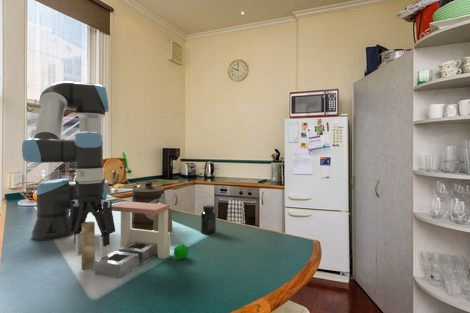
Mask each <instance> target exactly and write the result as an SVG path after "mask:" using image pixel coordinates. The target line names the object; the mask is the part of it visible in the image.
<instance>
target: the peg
mask: <svg viewBox="0 0 470 313" xmlns="http://www.w3.org/2000/svg"><path fill="white" fill-rule="evenodd" d="M95 223H96V222H95V221H85V222H83V223H82V232H81V233H82V254H81V270H82V271H83V270H84V271H87V270H88V271H89V270H92V269H94V261H96V260H95V256H96V255H95V249H96V248H95V243H96V242H95V241H96V239H95V235H96V234H95V232H96V231H95V228H96V227H95V225H96V224H95Z"/></svg>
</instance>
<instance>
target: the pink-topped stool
mask: <svg viewBox="0 0 470 313" xmlns="http://www.w3.org/2000/svg"><path fill="white" fill-rule="evenodd" d="M169 208H170V204H169V205H166V204H153V203H141V202H132V201H127V200H124V201H121V202H120V201H119V202H118V203H112V207H111V209H112V212H120V248H122V247H123V246H125V245H127V244H129V243H131V242H133V241H141V242H149V243H157V254H158V255H157V258H158V259H164V260H165V258H166V259H167V257H170V256H171V234H170V233H169V232H168V209H169ZM132 213H142V214H153V215H156V214H158V231H151V230H142V229H133V228H131V222H132V219H131V217H132Z"/></svg>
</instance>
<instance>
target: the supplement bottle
mask: <svg viewBox="0 0 470 313" xmlns="http://www.w3.org/2000/svg"><path fill="white" fill-rule="evenodd" d="M202 209H203V210H202V212H201V214H200V233H201V234H203V235H204V236H207V235H208V236H211V235H214V234H216V233H217V212H215V206H214V205H212V204H205V205H203V208H202Z"/></svg>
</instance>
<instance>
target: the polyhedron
mask: <svg viewBox="0 0 470 313" xmlns="http://www.w3.org/2000/svg"><path fill="white" fill-rule="evenodd" d="M173 255H174V257H175V258H177V259H179V260H184V259H186V258H187V257H188V255H189V247H188V246H187V245H185V244H184V243H180V244H178V245H176V246H175V247H174V249H173Z"/></svg>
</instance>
